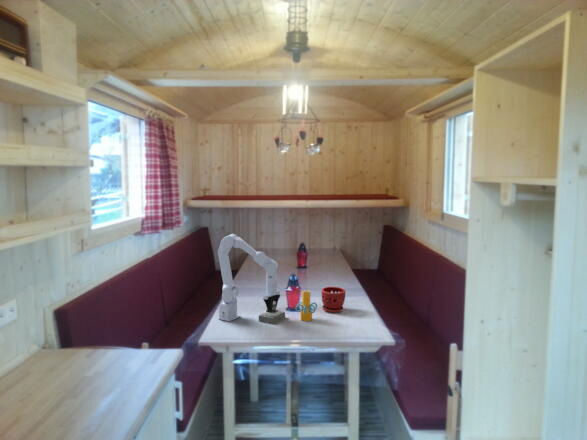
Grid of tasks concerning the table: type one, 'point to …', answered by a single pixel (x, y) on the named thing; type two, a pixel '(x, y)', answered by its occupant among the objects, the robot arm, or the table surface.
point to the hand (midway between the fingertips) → (271, 309)
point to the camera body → (271, 316)
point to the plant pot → (333, 299)
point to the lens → (273, 308)
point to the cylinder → (306, 306)
